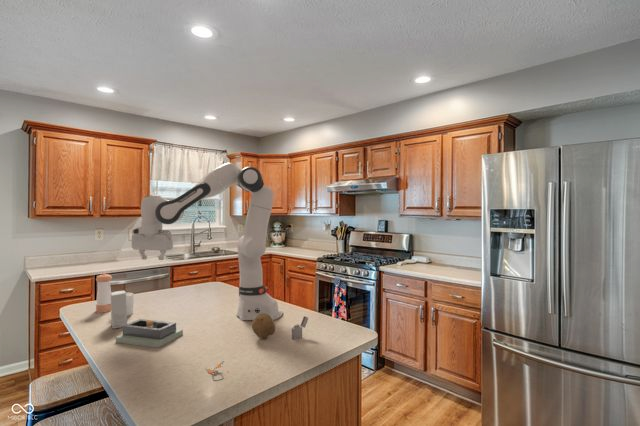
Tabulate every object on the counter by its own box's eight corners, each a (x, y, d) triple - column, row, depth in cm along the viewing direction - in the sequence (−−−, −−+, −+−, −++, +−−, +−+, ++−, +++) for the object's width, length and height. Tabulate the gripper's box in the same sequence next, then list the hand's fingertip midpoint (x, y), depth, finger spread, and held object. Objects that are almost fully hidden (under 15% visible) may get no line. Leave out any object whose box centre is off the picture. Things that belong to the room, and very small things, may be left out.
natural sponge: (249, 336, 141) (249, 311, 141) (270, 332, 144) (270, 309, 144) (254, 344, 133) (254, 318, 132) (277, 340, 136) (276, 315, 136)
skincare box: (127, 326, 153) (127, 293, 152) (111, 329, 149) (111, 295, 149) (126, 321, 160) (125, 289, 159) (110, 324, 156) (110, 291, 156)
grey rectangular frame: (176, 331, 141) (176, 322, 141) (160, 339, 132) (160, 330, 132) (140, 327, 146) (140, 319, 146) (122, 335, 137) (122, 326, 137)
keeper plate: (182, 334, 143) (182, 317, 143) (158, 347, 130) (158, 329, 129) (143, 329, 148) (142, 313, 148) (115, 342, 135) (115, 324, 135)
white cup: (111, 316, 168) (111, 295, 167) (126, 311, 175) (126, 292, 175) (123, 318, 165) (123, 297, 164) (137, 313, 172) (137, 293, 172)
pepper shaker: (107, 312, 173) (106, 274, 173) (92, 312, 173) (92, 274, 173) (115, 308, 181) (115, 271, 180) (102, 308, 181) (101, 271, 180)
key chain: (234, 377, 107) (234, 375, 107) (210, 383, 104) (210, 380, 104) (225, 361, 118) (225, 359, 118) (203, 366, 115) (203, 363, 115)
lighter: (293, 339, 137) (293, 319, 137) (291, 338, 138) (291, 318, 138) (308, 335, 141) (308, 316, 141) (306, 334, 142) (306, 315, 142)
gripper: (175, 229, 160) (176, 259, 160) (139, 229, 166) (140, 258, 166) (166, 230, 154) (166, 261, 154) (128, 230, 159) (129, 260, 160)
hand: (152, 259), depth 160 cm, fingers open, 8 cm apart
